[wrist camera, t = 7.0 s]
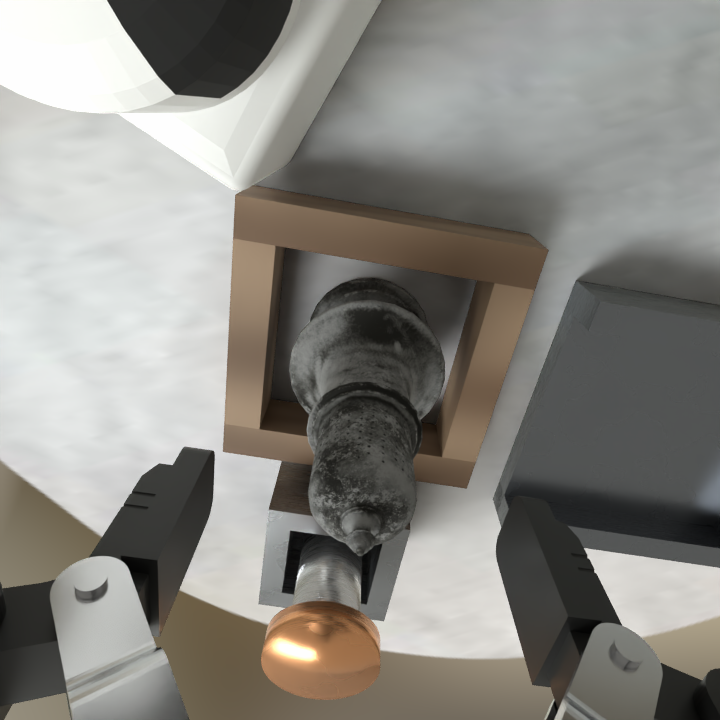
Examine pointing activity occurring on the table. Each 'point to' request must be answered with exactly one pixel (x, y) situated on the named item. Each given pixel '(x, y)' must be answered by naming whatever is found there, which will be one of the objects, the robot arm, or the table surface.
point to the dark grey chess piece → (365, 407)
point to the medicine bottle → (188, 70)
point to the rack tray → (627, 426)
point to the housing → (295, 519)
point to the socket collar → (384, 246)
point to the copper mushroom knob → (323, 627)
